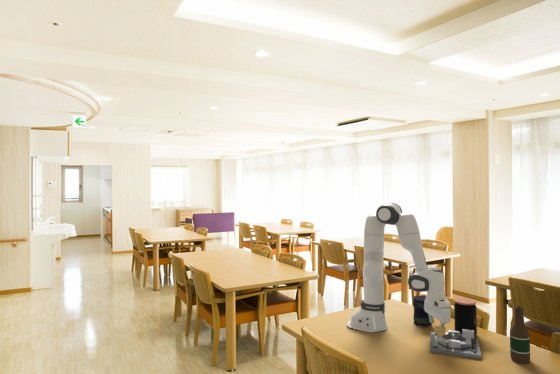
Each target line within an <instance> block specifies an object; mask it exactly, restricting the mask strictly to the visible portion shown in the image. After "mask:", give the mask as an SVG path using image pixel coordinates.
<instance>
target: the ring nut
mask: <svg viewBox="0 0 560 374" xmlns="http://www.w3.org/2000/svg"><path fill="white" fill-rule="evenodd" d="M446 330H447V329H446V327H445V326H444V327H439V326H436V325H435V326H434V332H435V334H437V335H438V343H440V344H442V345H444V346H446V347H447V346H448V347H451V348H459V349H461V348H462V349H463V348H468V347H471V339H474V330H465V329H462V334H460V332H459V331H455V330H454V329H452V330H451V329H448V330H447V331H446ZM450 333H456V334H458V339H460V340H463V342H461V341H460V340H452V339H448V340H446V339H445V338H450Z"/></svg>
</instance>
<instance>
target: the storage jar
mask: <svg viewBox="0 0 560 374" xmlns="http://www.w3.org/2000/svg"><path fill="white" fill-rule="evenodd" d="M426 296H427V295H415V296H412V297H413V298H412V301H413V302H412V304H413V305H412V307H413V324H414V325H415V326H417V327H421V328H427V327H432V324H433V323H431V322H430V319H429V316H428V313H426V312H425V310H424V301H425V299H426Z"/></svg>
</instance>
